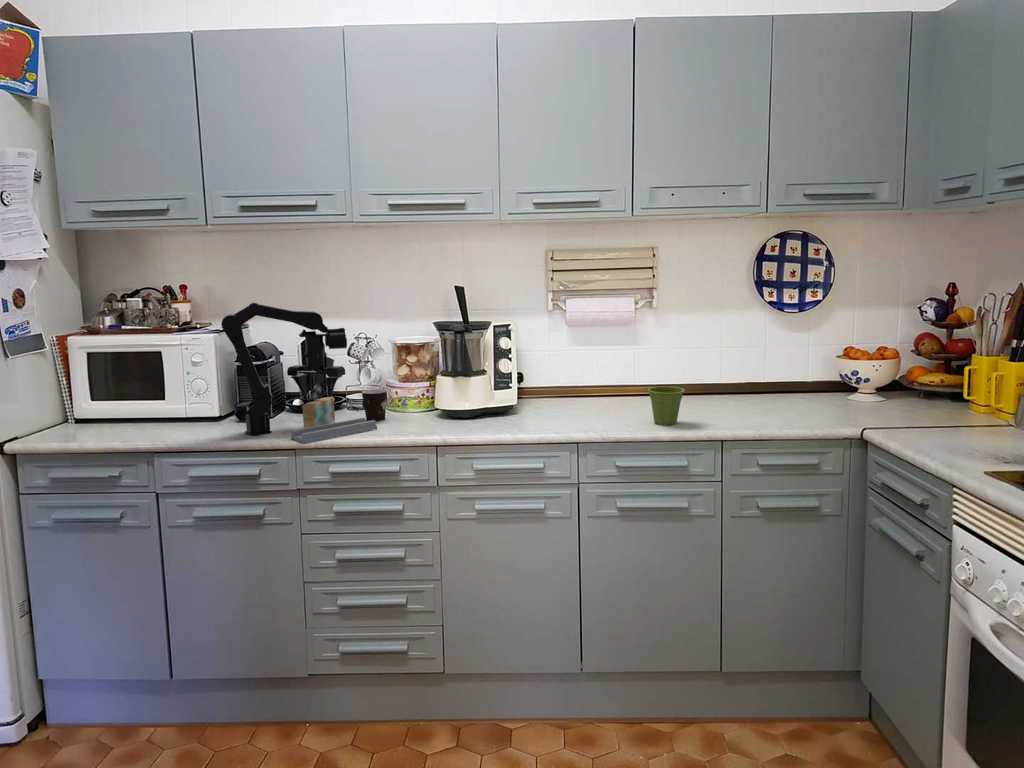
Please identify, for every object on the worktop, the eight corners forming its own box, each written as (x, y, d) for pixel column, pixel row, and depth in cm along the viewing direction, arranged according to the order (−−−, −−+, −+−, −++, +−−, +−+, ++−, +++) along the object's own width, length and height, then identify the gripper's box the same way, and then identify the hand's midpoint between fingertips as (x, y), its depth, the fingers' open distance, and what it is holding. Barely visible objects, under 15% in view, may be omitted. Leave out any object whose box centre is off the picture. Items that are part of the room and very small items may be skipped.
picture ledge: (305, 443, 236) (304, 434, 235) (291, 439, 242) (290, 430, 242) (377, 429, 253) (376, 420, 253) (362, 425, 260) (361, 417, 259)
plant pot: (650, 427, 247) (650, 392, 245) (645, 419, 259) (645, 386, 257) (687, 427, 246) (688, 392, 245) (680, 419, 258) (681, 386, 256)
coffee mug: (379, 416, 275) (377, 388, 273) (393, 419, 269) (391, 391, 267) (350, 421, 267) (349, 392, 265) (365, 424, 261) (363, 395, 259)
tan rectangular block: (314, 432, 251) (312, 405, 250) (304, 432, 252) (302, 405, 251) (335, 423, 265) (333, 397, 263) (325, 423, 266) (324, 397, 264)
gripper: (352, 347, 259) (354, 393, 262) (303, 346, 264) (305, 391, 267) (335, 351, 249) (338, 399, 251) (284, 350, 254) (287, 397, 256)
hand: (317, 396), depth 257 cm, fingers open, 9 cm apart
